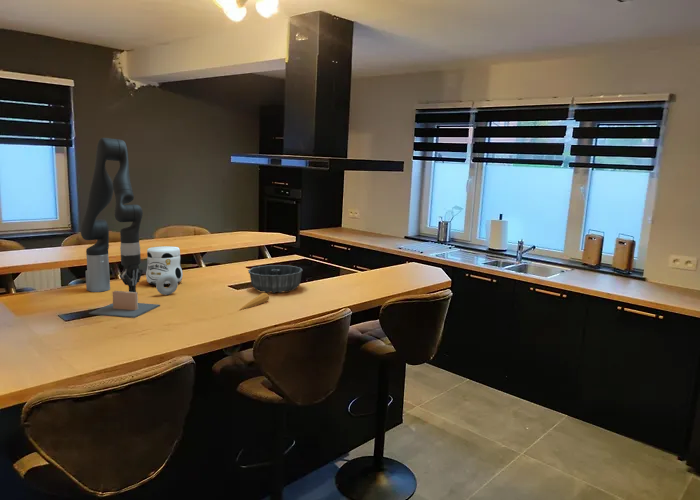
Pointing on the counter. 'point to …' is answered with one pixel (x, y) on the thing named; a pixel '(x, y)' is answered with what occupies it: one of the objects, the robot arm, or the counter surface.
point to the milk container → (163, 263)
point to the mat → (124, 310)
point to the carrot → (257, 301)
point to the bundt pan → (275, 278)
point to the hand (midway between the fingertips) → (132, 293)
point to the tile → (125, 300)
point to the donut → (162, 280)
